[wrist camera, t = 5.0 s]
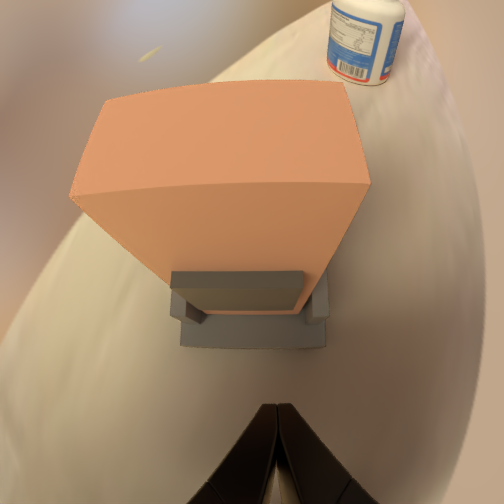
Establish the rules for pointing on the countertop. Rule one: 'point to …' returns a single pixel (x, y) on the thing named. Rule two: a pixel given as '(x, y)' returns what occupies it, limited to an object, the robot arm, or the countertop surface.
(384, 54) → the pill bottle
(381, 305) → the countertop surface
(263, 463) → the robot arm
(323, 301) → the switch base
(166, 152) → the orange tall block
